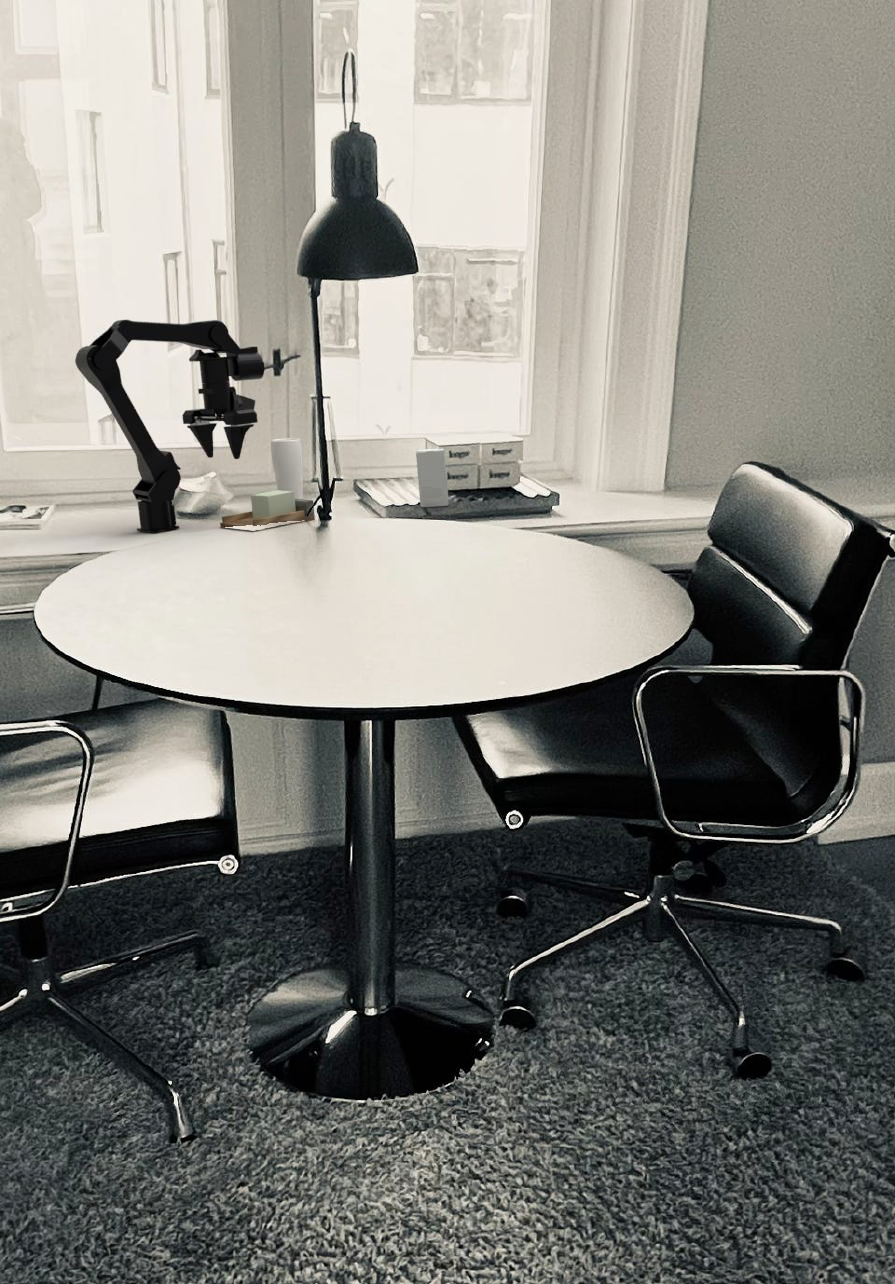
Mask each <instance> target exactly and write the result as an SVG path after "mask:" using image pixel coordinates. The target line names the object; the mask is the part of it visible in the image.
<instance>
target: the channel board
mask: <svg viewBox="0 0 895 1284" xmlns="http://www.w3.org/2000/svg"><path fill="white" fill-rule="evenodd" d="M313 505H314V500H312V499H304V498H303V499H295V507H296V512H292V513H287V514H282V515H277V516H272V517H266V518H261V519H253V512H252V510H251V511H245V512H240V513H233V514H229V515H225V516H221V520H222V522H219V525H220V529H226V528H225V527H233V526H246V525H253V526H257V525H260V526H261V525H267V524H269V523H278V522H287V521H302V520H310V521H313V520H315V518H316V517H315V505H314V507H313V509H312V510H311V512H310V513H309V515H308V517H307V513H308V511H309V509H310V508H311V507H312V506H313Z"/></svg>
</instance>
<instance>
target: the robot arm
mask: <svg viewBox="0 0 895 1284" xmlns="http://www.w3.org/2000/svg"><path fill="white" fill-rule="evenodd" d="M132 341H136V342H137V341H141V342H142V341H143V342H144V341H145V342H159V343H160V342H161V343H162V342H163V343H178V344H183V345H185V346H189V347H193V348H196V349H195V351H194V353H193V354H192V355H191V356H190V357H189V358H188V361H189V362H192V363H194V362H199V369H200V380H201V388H198V389H197V390H198V392H197V393H198V395H200V394H201V395H202V397H203V407H204V408H195V409H186V410H184V412H183V413H182V415H181V416H182V423H183V425H186V428H188V429H189V430H190V431H191V433H192V434H193V436H194V437H195V439H196V440H197V442H198V443H199V445H200V447H201V448H202V450H203V452H204V453H205V455H206V457H207V458H213V457H214V431H215V428H216V427H217V425H218V422H223V423H224V424H225V426H223V430H224V432H225V436H226V439H227V442H228V445H229V448H230V452H231V454H232V456H233V459H234V460H239V459H240V457H241V453H242V448H243V444H244V440H245V436H246V433H247V432H248V431H249V430H250V429H251V428H254V426H255V424H256V423H258V413H257V412H256V411H255V407H256V399H253V398H251V397H246V396H244V395H242V394H241V395H240V394H237V390H236V388H235V386H231V381H230V378H231V379H232V380H233V381H234V382H240V381H250V380H251V381H252V380H254V381H255V380H260V379H262V378H263V377H264V374H265V362H264V361H263V357H262V356H261V353H260V352H259V349H258V346H246V347H242V348H241V347H240V346H239V345H238V343H237V342H236V341H235V340H234V338H232V336H231V335H230V334H229V329H228V326H226V324H224V321H222V320H217V319H212V320H201V321H194V322H188V323H173V322H171V323H169V322H155V321H154V322H152V321H139V320H138V321H135V320H130V319H120V320H119V319H118V320H116V321H114V322H113V323H112V324H111V325H110V326H109V328H108V329H106V330H105V331H104V332H102V334H101V335H99V336H98V337H96V339H94V340H93V341H92V342H91V343H90V344H89V345H86V346H82V347H81V348H80V349H79V350H78V351H77V353H76V356H75V360H74V361H75V366H76V367H77V368H76V369H78V370H79V372H80V374H82V376H83V377H84V378H85V380H86V381H87V382H88V383H89V384H90V385H92V387H94V388H95V389H96V390H97V391H98V392H99V393H100V395H101V397H102V398H103V400H104V401H105V403H106V405H107V407H108V409H109V410H110V412H111V414H112V416H113V418H114V419H115V421H116V422H117V424H118V426H119V428H120V430H121V431H122V433H123V435H124V436H125V438H126V440H127V442H128V444H129V446H130V447H131V449H132V450H133V453H134V454H135V457H136V463H137V471H138V472H139V475H140V480H139V482H138V483H137V484H136V485H135V486H134V488H133V489H132V493H133V496H134V498H135V499H136V501H137V507H138V515H139V516H138V517H139V522H140V523H139V524H140V527H137V528H136V531H137V532H142V533H143V532H144V533H151V534H152V533H153V534H154V533H155V534H156V533H160V532H161V533H162V532H166V531H171V530H177V529H180V525H177V518H176V517H177V516H176V510H175V504H173V501H174V499H175V494H176V490H177V489H178V487H179V486H180V483H181V481H182V476H181V473H180V471H181V470H182V469H181V467H180V466H179V465H178V464H177V462H176V460H175V457H174V455H173V453H172V452H171V451H166V450H160V449H159V448H158V447H157V445H156V443H155V441H154V440H153V438H152V436H151V434H150V432H149V431H148V429H147V427H146V425H145V424H144V422H143V420H142V418H141V417H140V415H139V413H138V411H137V409H136V407H135V405H134V404H133V402H132V400H131V398H130V397H129V395H128V393H127V391H126V389H125V387H124V385H123V382H122V377H121V369H120V367H119V364H118V361H117V360H118V359H119V358H120V356H122V355H123V353H124V352H125V350H126V349H127V347H128V346H129V344H130V343H131V342H132ZM203 350H210V352H204V351H203ZM220 354H226V356H221V355H220ZM179 470H180V471H179Z"/></svg>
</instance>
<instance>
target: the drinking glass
mask: <svg viewBox="0 0 895 1284" xmlns="http://www.w3.org/2000/svg"><path fill="white" fill-rule="evenodd" d="M302 446H303V445H302V439H301V438H299V437H287V438H277V439H276V438H275V439H271V440H270V451H271V460H272V466H273V472H274V477H275V482H276V483H275V484H276V488H277V490H279V491H292V492H294V496H295V499H304V491H303V490H304V489H303V487H304V486H303V485H304V484H303V483H304V482H303V481H304V480H303V478H304V477H303V476H304V473H303V470H304V467H303V463H304V462H303V458H304V457H303V449H302V448H303V447H302Z"/></svg>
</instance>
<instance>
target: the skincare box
mask: <svg viewBox="0 0 895 1284" xmlns="http://www.w3.org/2000/svg"><path fill="white" fill-rule="evenodd" d="M415 458H416V468H417V479H418V480H417V481H418V491H419V492H418V493H419V494H418V495H419V504H420V507H421V508H432V507H433V508H434V507H435V508H436V507H437V508H438V507H448V506H449V503H450V502H448V501H449V491H448V478H447V477H448V475H447V467H446V466H447V465H446V451H445V448H431V449H430V448H428V449H426V448H425V449H418V450H416V452H415Z"/></svg>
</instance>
